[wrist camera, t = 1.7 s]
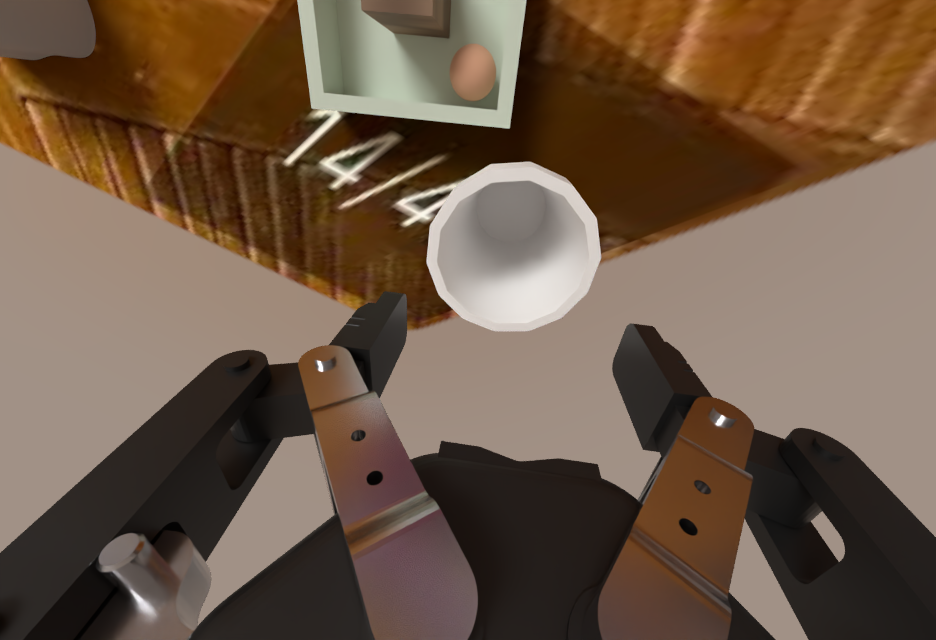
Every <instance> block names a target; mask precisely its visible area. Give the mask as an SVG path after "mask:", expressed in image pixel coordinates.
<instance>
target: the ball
mask: <svg viewBox="0 0 936 640" xmlns="http://www.w3.org/2000/svg"><path fill="white" fill-rule="evenodd" d="M495 79H496V65H495V61H494V59H493V57H492V55H491V53H490V52H489V51H488V50H487V49H486V48H485V47H483V46H481V45H479V44H467V45H465V46H463V47H461V48H460V49H459V50H458V51H457V52H456V54H455V55H454V57H453V59H452V61H451V65H450V80H451V84H452V87H453V89H454V90H455V92H456V93H457V94H458V95H459V96H460V97H461V98H463V99H465V100H467V101H478V100H481V99H483V98H484V97H486V96H487V95H488V94H489V93H490V91H491V90H492V88H493V86H494V83H495Z"/></svg>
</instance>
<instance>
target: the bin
mask: <svg viewBox="0 0 936 640" xmlns="http://www.w3.org/2000/svg"><path fill="white" fill-rule="evenodd" d="M297 1H298V8H299V16H300V23H301V31H302V38H303V46H304V54H305V61H306V69H307V76H308V84H309V91H310V99H311V107H312V108H313V109H322V110H332V111H342V112H352V113H361V114H371V115H381V116H391V117H400V118H410V119H420V120H430V121H439V122H449V123H459V124H469V125H478V126H488V127H498V128H508V129H510V122H511V115H512V107H513V100H514V92H515V84H516V77H517V69H518V61H519V54H520V46H521V39H522V31H523V23H524V16H525V8H526V0H451V15H450V37H449V38H439V37H428V36H417V35H406V34H395V33H392V32H391V31H390V30H388V29H387V28H385V27H384V26H383V25H381V24H380V23H378V22H377V21H376V20H374V19H373V18H372V17H370V16H369V15H367V14H366V13H365V12H363V11H362V10H361V0H297ZM467 44H479V45H481V46H483V47H485V48H486V49H487V50H488V51H489V52H490V53H491V55H492V57H493V59H494V61H495V65H496V79H495V83H494V86H493V88H492V90H491V91H490V93H489V94H488V95H487V96H486V97H484V98H483V99H481V100H478V101H467V100H465V99H463V98H461V97H460V96H459V95H458V94H457V93H456V92H455V90H454V89H453V87H452V84H451V80H450V65H451V61H452V59H453V57H454V55H455V54H456V52H457V51H458V50H459V49H460V48H461V47H463V46H465V45H467Z"/></svg>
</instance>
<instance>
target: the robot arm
mask: <svg viewBox="0 0 936 640" xmlns="http://www.w3.org/2000/svg"><path fill="white" fill-rule="evenodd" d="M406 336H407V298H406V295H405V294H401V293H394V292H384V293H383V294H382V296H381V297H380V298H379V300H378V301H377V302H376V303H367V304H366V305H364V306H362V307H360V308H358V309H357V310H356V312H355V313H354V314H353V315H352V318H350V319H349V320H348V322H347V323H346V325H345V326H344V327H343V328H342V329H341V330H340V332H339V333H338V334H337V335H336V337H335V338H334V339H333V340H332V342H331V343H330V344H329V345H328V346H321V347H317V348H314V349H311V350H310V351H308V352H306V353H305V354H304V355H303V356H302V357H301V358H300V360H299V362H298V363H288V364H274V365H269V364H268V360H267V357H266V355H265V354H263V353H262V352H259V351H255V350H242V351H236V352H232V353H229V354H227V355H224V356H222V357H220V358H218V359H217V360H215V361H214V362H213V363H211V364H210V365H209V366H208V367H207V368H206V369H205V370H203V371H202V372H201V373H200V374H199V375H198V376H197V377H196V378H195V379H194V380H192V381H191V382H190V383H189V384H188V385H187V386H186V387H184V388H183V389H182V390H181V391H180V392H179V393H178V394H177V395H176V396H174V397H173V398H172V399H171V400H170V401H169V402H168V403H167V404H165V405H164V406H163V407H162V408H161V409H160V410H159V411H158V412H157V413H155V414H154V415H153V416H152V417H151V418H150V419H149V420H148V421H147V422H146V423H144V424H143V425H142V426H141V427H140V428H139V429H138V430H137V431H135V432H134V433H133V434H132V435H131V436H130V437H129V438H128V439H127V440H126V441H124V442H123V443H122V444H121V445H120V446H119V447H118V448H116V449H115V450H114V451H113V452H112V453H111V454H110V455H109V456H108V457H107V458H105V459H104V460H103V461H102V462H101V463H100V464H99V465H98V466H96V467H95V468H94V469H93V470H92V471H91V472H90V473H89V474H88V475H87V476H85V477H84V478H83V479H82V480H81V481H80V482H79V483H78V484H76V485H75V486H74V487H73V488H72V489H71V490H70V491H69V492H67V493H66V494H65V495H64V496H63V497H62V498H61V499H60V500H59V501H57V502H56V503H55V504H54V505H53V506H52V507H51V508H50V509H49V510H48V511H46V512H45V513H44V514H43V515H42V516H41V517H40V518H39V519H38V520H36V521H35V522H34V523H33V524H32V525H31V526H30V527H29V528H27V529H26V530H25V531H24V532H23V533H22V534H21V535H20V536H18V537H17V539H15V540H14V541H13V542H12V543H11V544H10V545H8V546H7V547H6V548H5V549H4V550H3V551H2V552H1V553H0V640H775V639H774V638H773V637H772V636H771V635H770V634H769V633H768V632H767V631H766V629H765V628H764V627H762V625H761V624H760V623H759V622H758V621H757V620H756V619H755V618H754V617H753V616H752V615H751V614H750V613H749V612H748V611H747V610H746V609H745V608H744V607H743V606H742V605H741V604H740V603H739V602H738V601H737V600H736V599H735V598H734V597H733V596H732V595H731V594H730V593H729V588H730V583H731V578H732V573H733V569H734V564H735V559H736V555H737V550H738V545H739V541H740V536H741V532H742V527H743V522H744V518H745V520H746V522H747V524H748V526H749V528H750V529H751V531H752V533H753V535H754V537H755V539H756V541H757V543H758V545H759V547H760V548H761V550H762V552H763V554H764V556H765V558H766V560H767V562H768V564H769V566H770V567H771V569H772V571H773V573H774V575H775V577H776V579H777V581H778V583H779V584H780V586H781V588H782V590H783V592H784V594H785V596H786V598H787V600H788V602H789V603H790V605H791V607H792V609H793V611H794V613H795V615H796V617H797V619H798V620H799V622H800V624H801V626H802V628H803V630H804V632H805V634H806V636H807V638H808V639H809V640H936V537H935V536H934V535H933V534H932V533H931V532H930V531H929V530H928V529H927V528H926V527H925V526H924V525H923V524H922V523H921V522H920V521H919V520H918V519H917V518H916V517H915V516H914V515H913V513H912V512H911V511H910V510H908V508H907V507H906V506H905V505H904V504H903V503H902V502H901V501H900V500H899V499H898V498H897V497H896V496H895V495H894V494H893V493H892V492H891V491H890V490H889V488H887V486H886V485H885V484H884V483H883V482H882V481H881V480H880V479H879V478H878V477H877V476H876V475H875V474H874V473H873V472H872V471H871V470H870V469H869V468H868V467H867V466H866V465H865V463H864V462H863V461H861V459H860V458H859V457H858V456H857V455H856V454H855V453H854V452H852V451H851V450H850V449H849V448H847V447H846V446H845V445H843V444H841V443H840V442H838V441H837V440H835V439H833V438H831V437H829V436H827V435H825V434H823V433H820V432H817V431H814V430H811V429H805V428H797V429H794V430H793V431H792V432H791V433H790V434H789V435H788V436H787V437H786V439H782V438H779V437H776V436H773V435H771V434H767V433H765V432H762V431H759V430H756V429H754V425H753V423H752V421H751V420H750V419H749V418H748V417H747V415H746V414H744V413H743V412H742V411H741V410H739V409H738V408H736V407H735V406H733V405H731V404H729V403H728V402H725V401H723V400H720V399H717V398H713V397H712V396H711V395H710V393H709V392H708V390H707V389H706V388H705V386H704V385H703V384H702V382H701V381H700V379H699V378H698V376H697V375H696V374H695V373H694V372H693V370H692V368H691V367H690V365H689V364H687V362H686V360H685V359H684V357H683V356H682V354H681V353H680V352H679V351H678V350H677V349H675V348H674V347H673V346H671V345H670V344H669V343H668V342H664V341H663V339H662V338H661V336H660V335H659V333H658V332H657V331H656V329H655V328H654V327H653V326H647V325H639V324H629V325H628V326H627V327H626V329H625V332H624V334H623V337H622V339H621V342H620V344H619V347H618V350H617V352H616V355H615V357H614V360H613V368H612V369H613V375H614V378H615V381H616V383H617V386H618V388H619V391H620V393H621V395H622V398H623V401H624V403H625V406H626V408H627V411H628V413H629V416H630V418H631V421H632V423H633V426H634V428H635V431H636V433H637V436H638V438H639V441H640V443H641V446H642V448H643V450H649V451H656V452H660V454H661V458H660V459H659V461H658V463H657V465H656V467H655V468H654V470H653V472H652V474H651V476H650V478H649V480H648V482H647V483H646V485H645V487H644V489H643V491H642V493H641V495H640V497H639V498H638V500H637V499H636V498H634V497H633V496H632V495H630V494H629V493H628V492H626V491H625V490H623V489H621V488H620V487H618V486H616V485H615V484H613V483H611V482H609V481H607V480H604V479H602V478H601V476H600V472H599V467H598V465H597V464H592V463H585V462H579V461H571V460H564V459H547V460H535V461H516V460H513V459H510V458H507V457H505V456H502V455H500V454H497V453H494V452H492V451H489V450H487V449H484V448H481V447H478V446H471V445H465V444H458V443H451V442H445V441H441V444H440V449H439V453H433V454H428V455H423V456H420V457H417V458H414V459H411V460H410V459H409V457H408V455H407V453H406V451H405V449H404V447H403V445H402V443H401V441H400V439H399V437H398V435H397V433H396V431H395V429H394V427H393V425H392V423H391V421H390V419H389V417H388V415H387V413H386V411H385V409H384V407H383V405H382V403H381V401H380V396H381V394H382V392H383V390H384V388H385V385H386V384H387V381H388V379H389V377H390V375H391V373H392V371H393V368H394V366H395V364H396V362H397V360H398V358H399V356H400V354H401V352H402V349H403V347H404V345H405V341H406ZM309 434H314V437H315V441H316V445H317V449H318V453H319V457H320V460H321V464H322V468H323V472H324V476H325V480H326V483H327V488H328V492H329V496H330V500H331V504H332V508H333V512H334V516H333V517H331V518H330V519H329V520H327V521H326V522H325V523H323V524H322V525H321V526H320V527H318V528H317V529H316V530H314V531H313V532H312V533H311V534H309V535H308V536H307V537H305V538H304V539H303V540H302V541H300V542H299V543H298V544H296V545H295V546H294V547H292V548H291V549H290V550H289V551H287V552H286V553H285V554H283V555H282V556H281V557H280V558H278V559H277V560H276V561H274V562H273V563H272V564H270V565H269V566H268V567H267V568H265V569H264V570H263V571H261V572H260V573H259V574H257V575H256V576H255V577H254V578H252V579H251V580H250V581H249V582H247V583H246V584H245V585H243V586H242V587H241V588H239V589H238V590H237V591H235V592H234V593H233V594H232V595H230V596H229V597H228V598H227V599H226V600H224V601H223V602H222V603H221V604H219V605H218V606H217V607H216V608H215V609H214V610H213V611H212V612H211V613H210V614H209V615H208V616H207V617H206V618H205V619H204V620H203V621H202V622H201V623H200V624H199V625H198V626H197V624H198V618H199V614H200V611H201V608H202V606H203V603H204V601H205V599H206V597H207V594H208V592H209V589H210V585H211V572H210V569H209V567H208V565H207V564H206V560H207V559H208V557H209V555H210V554H211V553H212V551H213V549H214V548H215V546H216V545H217V543H218V541H219V540H220V538H221V536H222V535H223V533H224V532H225V530H226V529H227V527H228V526H229V524H230V522H231V521H232V519H233V518H234V516H235V514H236V513H237V511H238V510H239V508H240V506H241V505H242V503H243V502H244V500H245V498H246V497H247V495H248V494H249V492H250V491H251V489H252V487H253V486H254V484H255V483H256V481H257V479H258V478H259V476H260V475H261V473H262V472H263V470H264V468H265V467H266V465H267V464H268V462H269V460H270V459H271V457H272V456H273V454H274V453H275V451H276V449H277V448H278V446H279V445H280V443H281V441H282V440H283V438H285V437H293V436H301V435H309ZM822 511H823V512H824V514H825V515H826V516H827V518H828V519H829V520H830V522H831V523H832V524H833V526H834V527H835V529H836V530H837V531H838V533H839V534H840V536H841V537H842V539H843V542H844V545H845V555H844V558H843V559H842V560H841V561H840V562H838V560H837V559H836V557H835V556H834V554H833V553H832V552H831V550H830V549H829V547H828V546H827V544H826V543H825V541H824V540H823V539H822V537H821V536H820V534H819V533H818V531H817V530H816V528H815V527H814V526H813V524H812V523H811V520H813V519H814V518H815V517H816V516H817V515H818V514H819V513H820V512H822Z"/></svg>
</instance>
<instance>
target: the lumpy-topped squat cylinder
mask: <svg viewBox="0 0 936 640" xmlns="http://www.w3.org/2000/svg"><path fill="white" fill-rule="evenodd" d="M95 42H96V30H95V24H94V20H93V16H92V13H91V10H90V7H89V4H88V1H87V0H0V56H1V57H9V58H17V59H26V60H39V59H42V58H45V57H48V56H53V55H59V56H66V57H73V58H85V57H87V56H89V55H90V54H91V53H92V52H93V50H94V47H95Z"/></svg>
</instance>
